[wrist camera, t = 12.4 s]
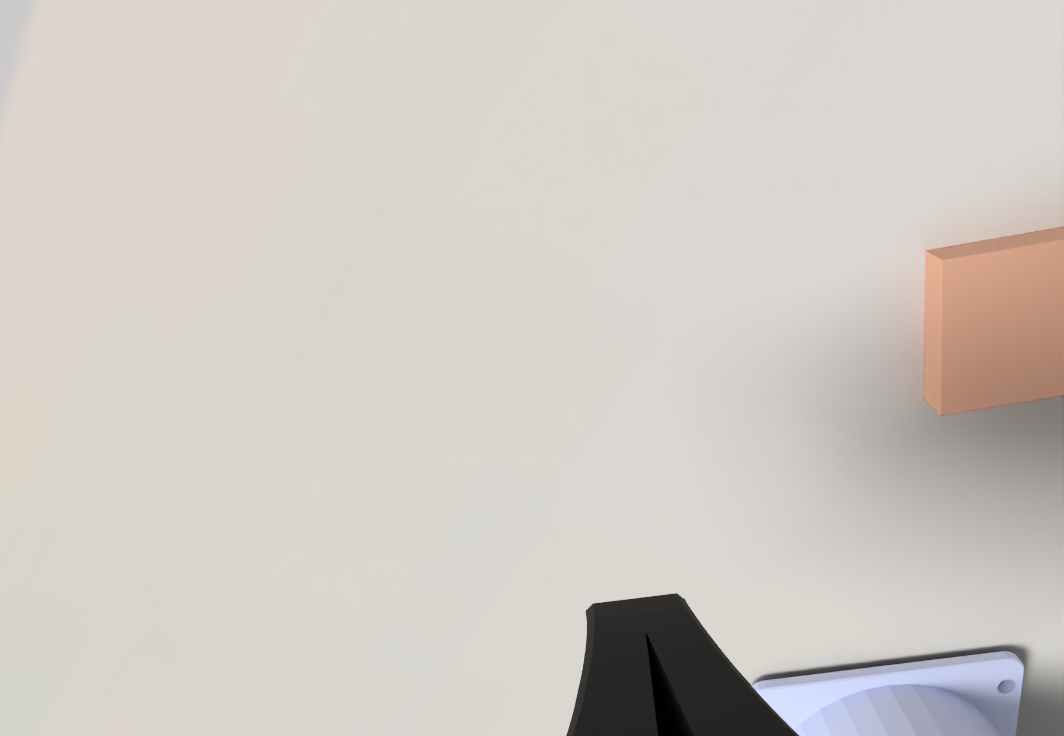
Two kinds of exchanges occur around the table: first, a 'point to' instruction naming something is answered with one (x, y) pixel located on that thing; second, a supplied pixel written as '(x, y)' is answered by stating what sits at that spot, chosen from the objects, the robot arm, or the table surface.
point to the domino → (994, 322)
